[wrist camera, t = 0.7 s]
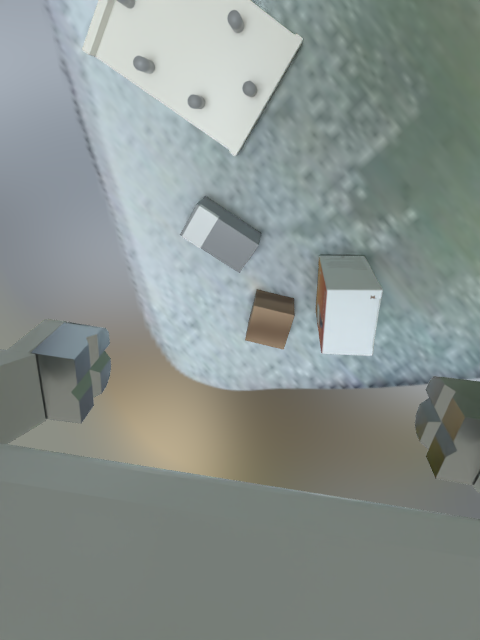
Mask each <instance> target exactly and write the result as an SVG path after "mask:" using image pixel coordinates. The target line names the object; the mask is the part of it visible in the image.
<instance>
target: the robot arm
mask: <svg viewBox="0 0 480 640" xmlns="http://www.w3.org/2000/svg"><path fill="white" fill-rule="evenodd" d="M109 344H110V342H109V332H108V331H107V329H106V328H102V327H96V326H90V325H84V324H77V323H72V322H66V321H59V320H51V319H45V320H43V321H42V322H41V323H40V324H38V325H37V326H36V327H35V328H34V329H32V330H31V331H30V332H28V333H27V334H26V335H25V336H23V337H22V338H21V339H20V340H19V341H18V342H16V343H15V344H13V345H12V346H11V347H10V348H9V349H7V350H4V349H0V640H480V519H475V518H468V517H462V516H456V515H449V514H443V513H437V512H431V511H424V510H418V509H412V508H405V507H399V506H392V505H386V504H380V503H374V502H367V501H361V500H354V499H349V498H342V497H336V496H330V495H323V494H317V493H311V492H304V491H297V490H291V489H285V488H279V487H273V486H266V485H260V484H254V483H248V482H241V481H235V480H229V479H222V478H216V477H210V476H203V475H197V474H191V473H185V472H178V471H172V470H166V469H159V468H153V467H147V466H141V465H134V464H128V463H122V462H116V461H109V460H102V459H96V458H90V457H84V456H78V455H72V454H65V453H59V452H53V451H46V450H40V449H34V448H27V447H21V446H15V445H9V444H8V443H10V442H11V441H13V440H15V439H16V438H18V437H20V436H21V435H23V434H25V433H26V432H28V431H30V430H31V429H33V428H35V427H37V426H38V425H40V424H41V423H43V422H45V421H46V419H50V420H57V421H65V422H73V423H82V422H83V420H84V419H85V417H86V416H87V414H88V413H89V412H90V410H91V409H92V407H93V406H94V403H93V398H94V397H96V396H98V395H100V394H102V392H103V391H104V389H105V388H106V386H107V383H108V380H109V377H110V370H111V360H110V359H111V358H110V357H109V356H108V355H107V353H106V352H105V351H104V350H105V349H106V348H107V347H108V345H109ZM426 391H427V394H428V397H429V398H428V399H427V400H425V401H424V402H422V403H421V404H420V405H419V408H418V411H417V413H416V420H415V428H416V434H417V437H418V439H419V441H420V443H421V444H423V445H424V446H425V447H426V448H427V449H429V450H428V452H427V454H426V458H427V460H428V463H429V465H430V467H431V469H432V472H433V474H434V476H435V478H436V479H440V480H446V481H451V482H457V483H462V484H468V485H473V487H474V488H475V489H476V490H477V491H478V492H479V493H480V382H479V381H471V380H462V379H454V378H446V377H436V376H433V378H432V379H431V380H430V381H429V383H428V386H427V388H426Z"/></svg>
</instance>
